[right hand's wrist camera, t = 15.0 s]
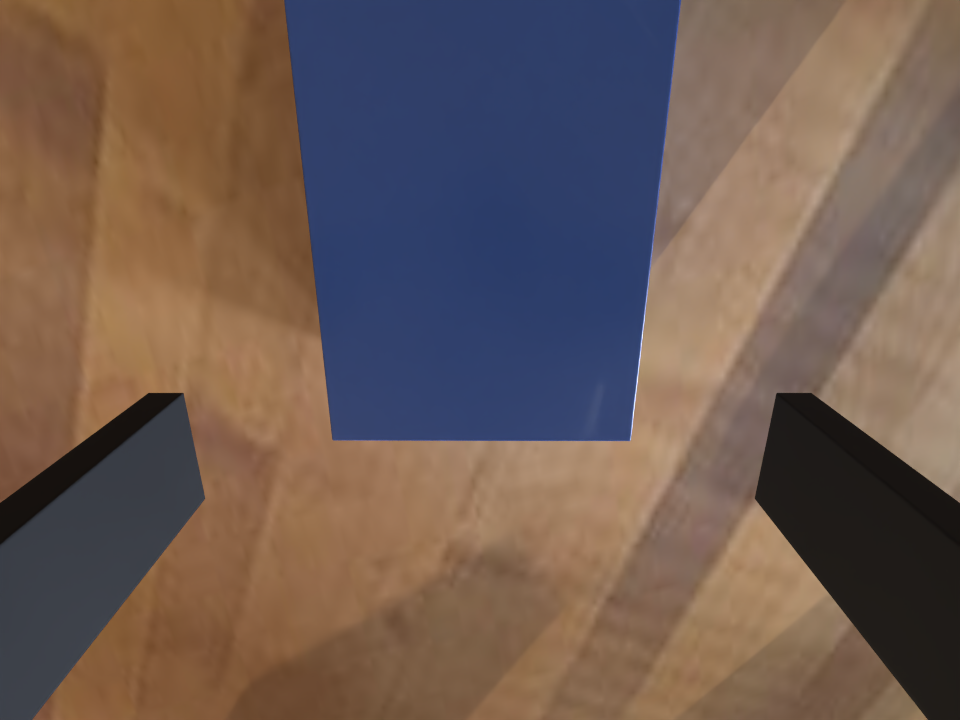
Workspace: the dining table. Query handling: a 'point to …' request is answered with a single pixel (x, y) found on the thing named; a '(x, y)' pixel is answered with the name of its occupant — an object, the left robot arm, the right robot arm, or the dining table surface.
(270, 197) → the dining table surface
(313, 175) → the cabinet
